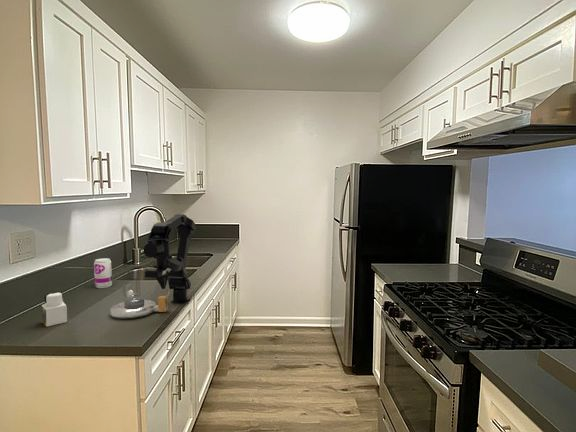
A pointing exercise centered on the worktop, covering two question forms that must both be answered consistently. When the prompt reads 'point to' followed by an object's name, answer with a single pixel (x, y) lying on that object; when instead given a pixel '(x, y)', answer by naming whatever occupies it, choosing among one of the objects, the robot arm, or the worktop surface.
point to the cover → (134, 302)
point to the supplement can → (103, 273)
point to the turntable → (139, 309)
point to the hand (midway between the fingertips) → (163, 288)
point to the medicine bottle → (54, 309)
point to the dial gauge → (131, 294)
